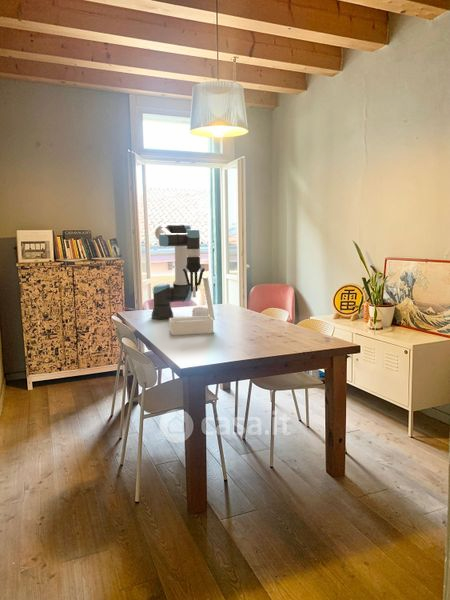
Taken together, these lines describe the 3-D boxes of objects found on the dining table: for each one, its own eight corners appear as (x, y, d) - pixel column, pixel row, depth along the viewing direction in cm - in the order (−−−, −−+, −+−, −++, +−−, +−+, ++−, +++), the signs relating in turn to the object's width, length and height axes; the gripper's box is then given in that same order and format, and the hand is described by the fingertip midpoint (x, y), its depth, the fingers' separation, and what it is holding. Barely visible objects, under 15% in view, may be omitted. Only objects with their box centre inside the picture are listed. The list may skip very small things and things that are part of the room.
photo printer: (209, 325, 280) (208, 306, 278) (208, 327, 276) (208, 307, 274) (193, 325, 281) (192, 306, 279) (192, 327, 277) (191, 307, 275)
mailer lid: (199, 276, 265) (203, 275, 265) (206, 316, 269) (210, 315, 270) (204, 278, 252) (207, 277, 252) (211, 320, 256) (214, 319, 257)
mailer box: (169, 331, 265) (169, 318, 264) (208, 328, 270) (208, 315, 269) (172, 335, 252) (171, 322, 251) (213, 333, 258) (213, 319, 257)
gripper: (183, 256, 250) (183, 298, 253) (205, 256, 253) (206, 297, 256) (181, 256, 258) (182, 296, 261) (203, 256, 261) (203, 295, 264)
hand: (194, 297), depth 259 cm, fingers closed
